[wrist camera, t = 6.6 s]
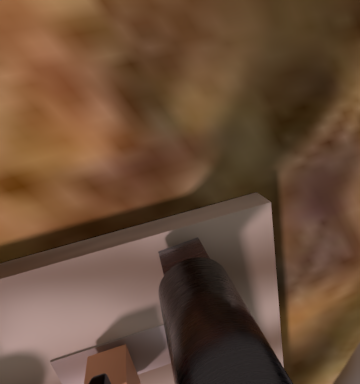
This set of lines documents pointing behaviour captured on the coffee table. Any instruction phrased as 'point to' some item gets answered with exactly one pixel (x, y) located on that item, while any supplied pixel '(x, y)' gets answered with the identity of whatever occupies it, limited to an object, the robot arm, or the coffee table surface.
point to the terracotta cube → (112, 366)
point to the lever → (211, 323)
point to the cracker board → (127, 293)
